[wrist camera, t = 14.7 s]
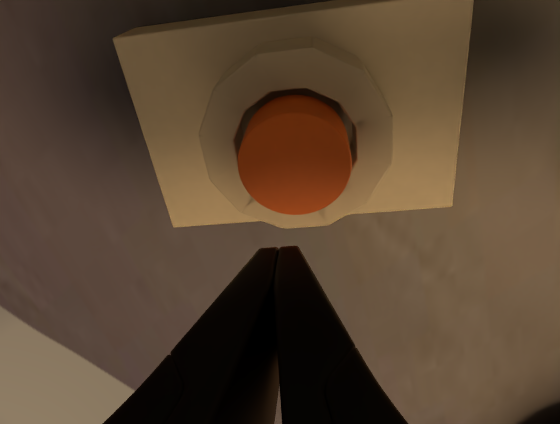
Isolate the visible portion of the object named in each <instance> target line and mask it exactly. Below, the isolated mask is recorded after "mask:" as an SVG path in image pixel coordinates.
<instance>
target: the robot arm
mask: <svg viewBox="0 0 560 424" xmlns="http://www.w3.org/2000/svg"><path fill="white" fill-rule="evenodd" d="M279 384H280V398H281V413H282V424H408V423H407V421H406V420H405V419H404V418H403V416H402V415H401V414H400V412H399V411H398V410H397V409H396V407H395V406H394V404H393V403H392V402H391V400H390V399H389V398H388V396H387V395H386V393H385V392H384V391H383V389H382V388H381V387H380V385H379V384H378V382H377V381H376V379H375V377H374V376H373V374H372V373H371V371H370V369H369V368H368V366H367V365H366V363H365V361H364V360H363V358H362V356H361V354H360V353H359V351H358V349H357V348H355V344H354V343H353V341H352V339H351V337H350V336H349V334H348V332H347V331H346V329H345V327H344V325H343V324H342V322H341V320H340V318H339V317H338V315H337V313H336V311H335V310H334V308H333V306H332V304H331V303H330V301H329V299H328V297H327V296H326V294H325V292H324V291H323V289H322V287H321V285H320V284H319V282H318V280H317V278H316V277H315V275H314V273H313V271H312V270H311V268H310V266H309V264H308V263H307V261H306V259H305V257H304V256H303V254H302V252H301V251H300V249H299V247H298V246H285V247H281V248H279V249H278V248H277V247H271V248H261V249H259V250H258V251H257V252H256V253H255V255H254V256H253V257H252V258H251V259H250V260H249V262H248V263H247V264H246V265H245V266H244V267H243V269H242V270H241V271H240V272H239V273H238V274H237V276H236V277H235V278H234V279H233V280H232V281H231V282H230V284H229V285H228V286H227V287H226V288H225V289H224V291H223V292H222V293H221V294H220V295H219V296H218V298H217V299H216V300H215V301H214V302H213V303H212V304H211V306H210V307H209V308H208V309H207V310H206V311H205V313H204V314H203V315H202V316H201V317H200V318H199V320H198V321H197V322H196V323H195V324H194V325H193V327H192V328H191V329H190V330H189V331H188V332H187V333H186V335H185V336H184V337H183V338H182V339H181V340H180V342H179V343H178V344H177V345H176V346H175V347H174V349H173V350H172V351H171V355H167V356H166V358H165V359H164V360H163V361H162V362H161V363H160V365H159V366H158V367H157V368H156V369H155V370H154V371H153V372H152V374H151V375H150V376H149V377H148V378H147V379H146V380H145V381H144V382H143V383H142V385H141V386H140V387H139V388H138V389H137V390H136V391H135V392H134V393H133V394H132V395H131V396H130V397H129V398H128V399H127V400H126V401H125V402H124V403H123V404H122V405H121V406H120V407H119V408H118V409H117V410H116V411H115V412H114V413H113V414H112V415H111V416H110V417H109V418H108V419H107V420H106V421H105V422H104V423H103V424H274V421H275V413H276V406H277V398H278V391H279Z"/></svg>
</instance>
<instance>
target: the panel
mask: <svg viewBox="0 0 560 424" xmlns="http://www.w3.org/2000/svg"><path fill="white" fill-rule="evenodd" d="M473 4H474V0H333V1H325V2H318V3H311V4H303V5H296V6H289V7H282V8H274V9H267V10H260V11H252V12H245V13H238V14H230V15H223V16H216V17H209V18H201V19H194V20H187V21H179V22H172V23H165V24H158V25H150V26H143V27H136V28H133V29H131V30H129V31H127V32H125V33H123V34H120V35H118V36H116V37H114V38H113V42H114V45H115V48H116V52H117V55H118V58H119V61H120V64H121V67H122V70H123V73H124V76H125V79H126V82H127V86H128V89H129V92H130V95H131V98H132V101H133V104H134V107H135V110H136V113H137V116H138V120H139V123H140V126H141V129H142V132H143V135H144V138H145V141H146V144H147V147H148V151H149V154H150V157H151V160H152V163H153V166H154V169H155V172H156V175H157V178H158V181H159V185H160V188H161V191H162V194H163V197H164V200H165V203H166V206H167V209H168V212H169V215H170V219H171V222H172V225H173V227H186V226H199V225H213V224H226V223H240V222H253V221H264V222H267V223H269V224H272V225H274V226H277V227H280V228H283V229H287V228H301V227H314V226H326V225H330V224H331V223H333V222H335V221H337V220H338V219H340V218H342V217H344V216H345V215H347V214H361V213H374V212H387V211H401V210H414V209H428V208H441V207H451V206H452V203H453V194H454V184H455V175H456V165H457V156H458V146H459V137H460V127H461V118H462V108H463V99H464V90H465V80H466V71H467V61H468V52H469V42H470V33H471V23H472V14H473ZM286 95H306V96H310V97H313V98H316V99H319V100H321V101H322V102H324V103H326V104H327V105H329V106H330V107H331V108H332V109H333V110H334V111H335V112H336V113H337V114H338V115H339V116H340V118H341V120H342V121H343V123H344V126H345V128H346V132H347V136H348V141H349V146H350V151H351V158H352V170H351V175H350V178H349V181H348V183H347V185H346V188H345V189H344V190H343V192H342V193H341V194H340V196H339V197H338V198H337V199H336V200H335V201H333V202H332V203H331V204H330V205H328V206H327V207H325V208H323V209H321V210H318V211H316V212H313V213H309V214H303V215H288V214H282V213H278V212H275V211H272V210H270V209H268V208H266V207H264V206H262V205H261V204H259V203H258V202H257V201H256V200H255V199H254V198H252V197H251V195H250V194H249V193H248V192H247V190H246V189H245V187H244V185H243V184H242V181H241V179H240V176H239V172H238V153H239V149H240V146H241V143H242V140H243V137H244V134H245V132H246V129H247V126H248V124H249V122H250V120H251V118H252V117H253V115H254V114H255V113H256V112H257V111H258V109H260V108H261V107H262V106H263V105H265V104H266V103H268V102H269V101H271V100H273V99H275V98H278V97H282V96H286Z"/></svg>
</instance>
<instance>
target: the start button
mask: <svg viewBox="0 0 560 424" xmlns="http://www.w3.org/2000/svg"><path fill="white" fill-rule="evenodd" d="M351 170H352V158H351V151H350V146H349V141H348V136H347V132H346V128H345V126H344V123H343V121H342V120H341V118H340V116H339V115H338V114H337V113H336V112H335V111H334V110H333V109H332V108H331V107H330V106H329V105H327V104H326V103H324V102H322V101H321V100H319V99H316V98H313V97H310V96H306V95H286V96H282V97H278V98H275V99H273V100H271V101H269V102H268V103H266V104H265V105H263V106H262V107H261V108H260V109H258V111H257V112H256V113H255V114H254V115H253V117H252V118H251V120H250V122H249V124H248V126H247V129H246V132H245V134H244V137H243V140H242V143H241V146H240V149H239V153H238V172H239V176H240V179H241V181H242V184H243V185H244V187H245V189H246V190H247V192H248V193H249V194H250V195H251V197H252V198H254V199H255V200H256V201H257V202H258V203H259V204H261V205H262V206H264V207H266V208H268V209H270V210H272V211H275V212H278V213H282V214H288V215H303V214H309V213H313V212H316V211H318V210H321V209H323V208H325V207H327V206H328V205H330V204H331V203H332V202H333V201H335V200H336V199H337V198H338V197H339V196H340V194H341V193H342V192H343V190H344V189H345V188H346V185H347V183H348V181H349V178H350V175H351Z"/></svg>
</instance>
